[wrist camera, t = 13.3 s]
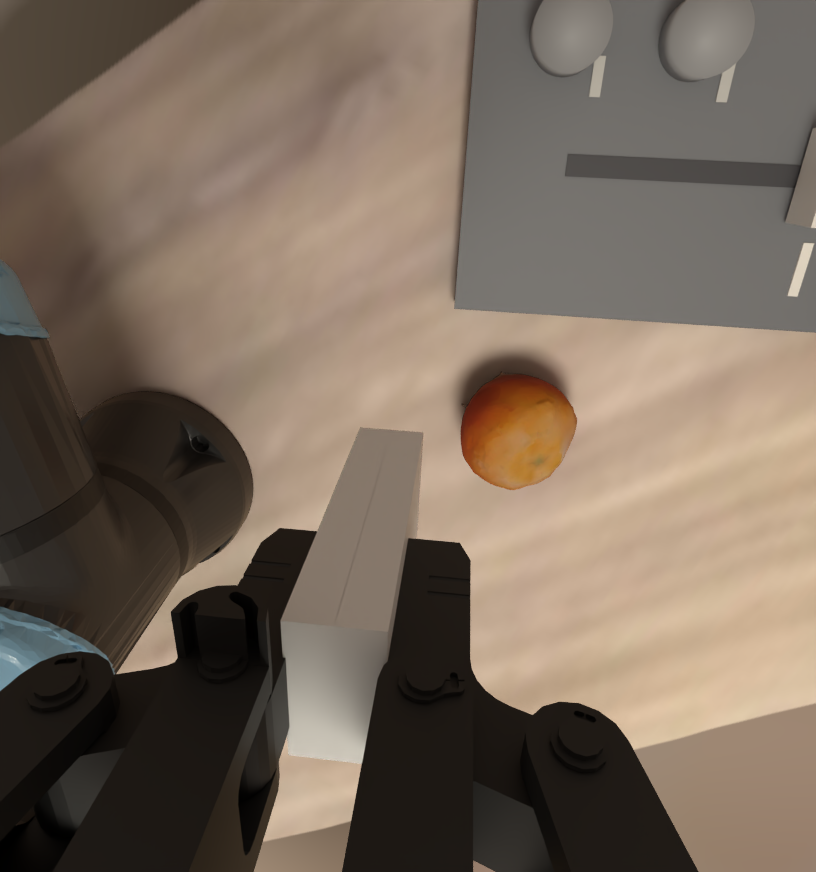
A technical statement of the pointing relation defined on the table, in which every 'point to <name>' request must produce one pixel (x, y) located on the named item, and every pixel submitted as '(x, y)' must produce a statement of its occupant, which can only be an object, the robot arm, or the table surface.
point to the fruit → (516, 430)
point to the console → (640, 161)
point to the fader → (805, 190)
